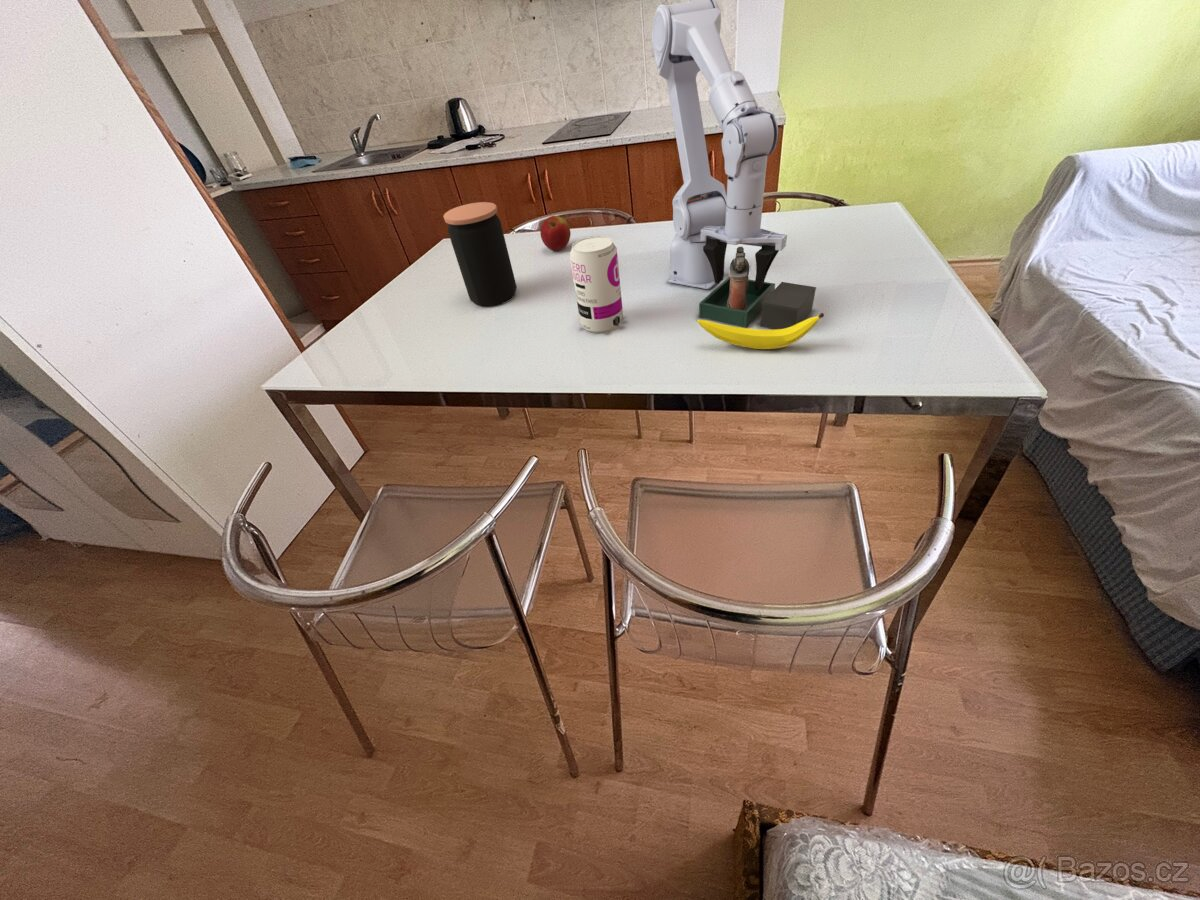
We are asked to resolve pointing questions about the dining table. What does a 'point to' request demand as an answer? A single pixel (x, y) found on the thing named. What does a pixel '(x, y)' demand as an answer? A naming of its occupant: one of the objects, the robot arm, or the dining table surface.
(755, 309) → the tray
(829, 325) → the dining table surface
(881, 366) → the dining table surface
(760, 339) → the banana
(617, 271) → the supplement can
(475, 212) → the coffee jar
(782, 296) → the stand
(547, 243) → the apple
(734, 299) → the lighter
